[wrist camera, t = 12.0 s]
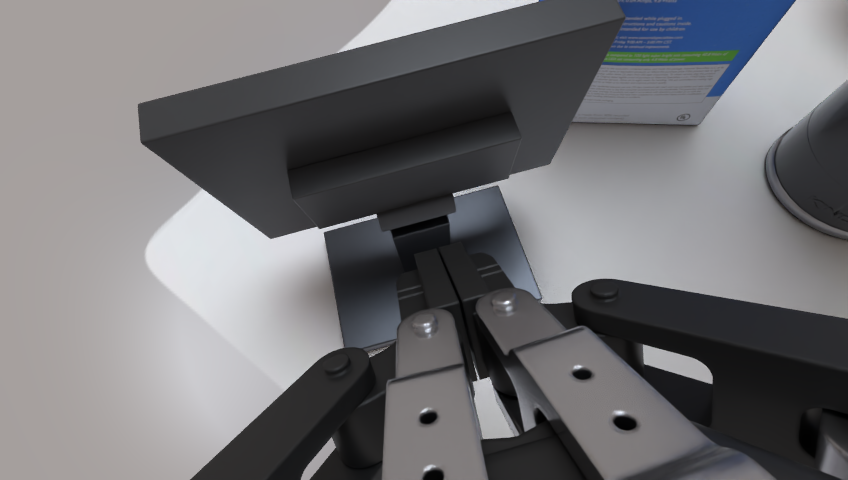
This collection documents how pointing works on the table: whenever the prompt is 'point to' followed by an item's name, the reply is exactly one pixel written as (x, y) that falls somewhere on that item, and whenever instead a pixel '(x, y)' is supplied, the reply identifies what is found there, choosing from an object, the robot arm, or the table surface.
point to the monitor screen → (389, 119)
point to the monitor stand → (414, 261)
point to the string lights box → (676, 58)
